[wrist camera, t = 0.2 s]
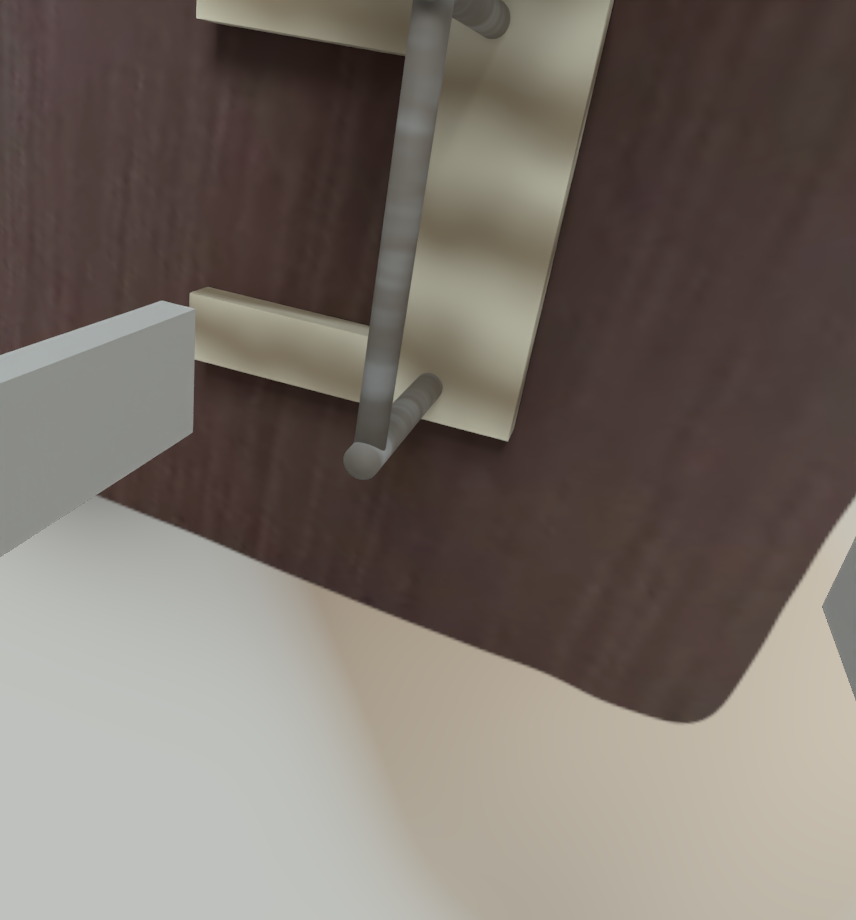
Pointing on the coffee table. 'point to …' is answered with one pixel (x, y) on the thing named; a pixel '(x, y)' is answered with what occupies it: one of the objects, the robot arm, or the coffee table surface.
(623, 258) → the coffee table surface
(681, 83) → the coffee table surface
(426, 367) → the wooden rack
